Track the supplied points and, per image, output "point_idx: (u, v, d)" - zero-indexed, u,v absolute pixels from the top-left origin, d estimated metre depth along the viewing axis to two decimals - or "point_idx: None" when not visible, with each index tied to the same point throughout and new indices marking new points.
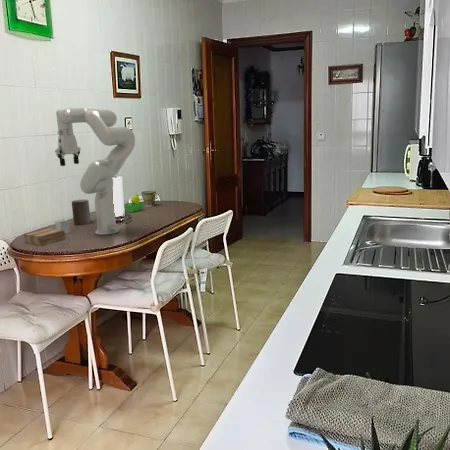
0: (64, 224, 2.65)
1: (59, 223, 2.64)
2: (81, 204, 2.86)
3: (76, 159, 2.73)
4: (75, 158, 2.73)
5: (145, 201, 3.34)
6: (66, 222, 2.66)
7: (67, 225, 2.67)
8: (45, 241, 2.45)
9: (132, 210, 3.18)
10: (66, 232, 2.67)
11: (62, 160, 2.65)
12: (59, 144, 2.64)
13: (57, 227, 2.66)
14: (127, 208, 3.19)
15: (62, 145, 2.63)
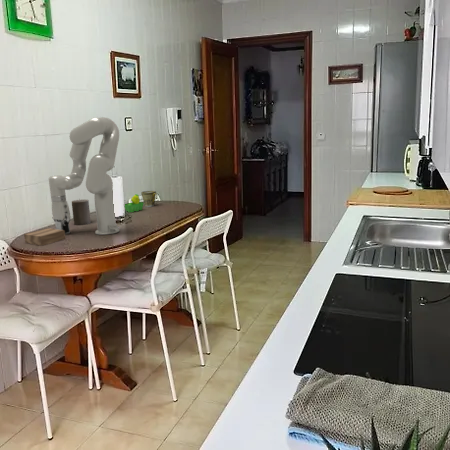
0: None
1: (59, 223, 2.64)
2: (81, 204, 2.86)
3: None
4: None
5: (145, 201, 3.34)
6: None
7: None
8: (45, 241, 2.45)
9: (132, 210, 3.18)
10: None
11: (67, 227, 2.66)
12: (64, 210, 2.62)
13: (57, 227, 2.66)
14: (127, 208, 3.19)
15: (68, 210, 2.64)
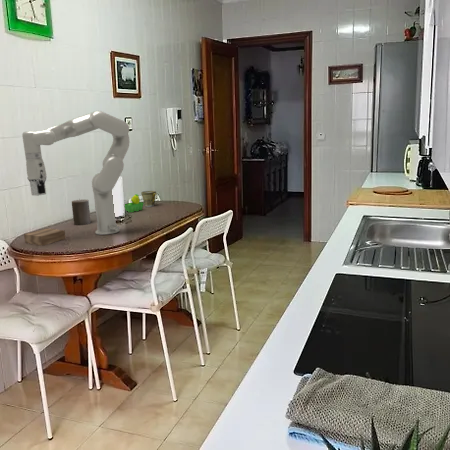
0: None
1: (34, 183, 2.44)
2: (81, 204, 2.86)
3: None
4: None
5: (145, 201, 3.34)
6: None
7: None
8: (46, 241, 2.45)
9: (132, 210, 3.18)
10: (42, 193, 2.46)
11: (43, 187, 2.46)
12: (40, 168, 2.42)
13: (32, 187, 2.46)
14: (127, 208, 3.19)
15: (44, 169, 2.43)
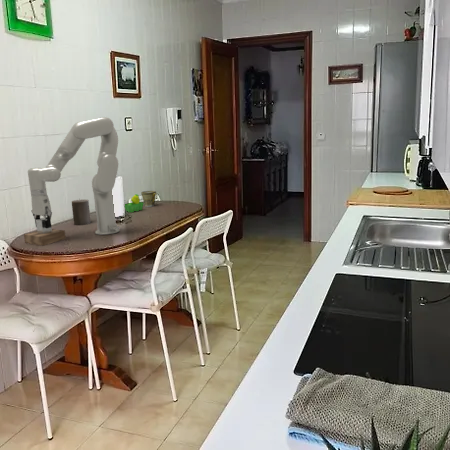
0: None
1: (40, 221, 2.48)
2: (81, 204, 2.86)
3: None
4: None
5: (145, 201, 3.34)
6: None
7: None
8: (46, 241, 2.45)
9: (132, 210, 3.18)
10: (47, 231, 2.50)
11: (49, 221, 2.49)
12: (45, 204, 2.45)
13: (38, 225, 2.50)
14: (127, 208, 3.19)
15: (49, 205, 2.47)
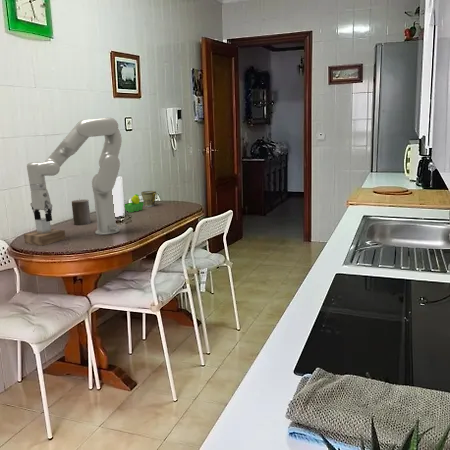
0: (45, 222, 2.49)
1: (39, 221, 2.48)
2: (81, 204, 2.86)
3: (39, 215, 2.54)
4: (37, 214, 2.53)
5: (145, 201, 3.34)
6: None
7: (48, 223, 2.51)
8: (46, 241, 2.45)
9: (132, 210, 3.18)
10: (47, 231, 2.50)
11: (50, 215, 2.48)
12: (44, 199, 2.45)
13: (37, 226, 2.50)
14: (127, 208, 3.19)
15: (48, 199, 2.47)
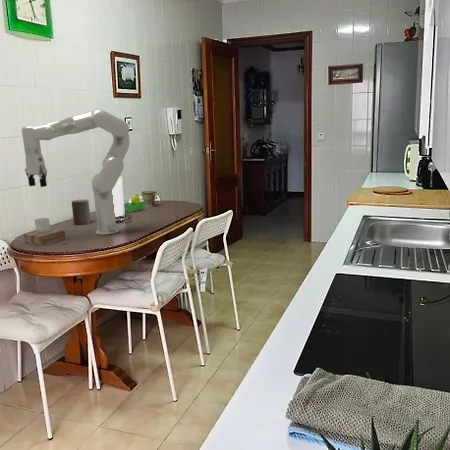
0: (44, 222, 2.49)
1: (39, 221, 2.48)
2: (81, 204, 2.86)
3: (33, 181, 2.50)
4: (32, 180, 2.49)
5: (145, 201, 3.34)
6: (46, 220, 2.50)
7: (47, 223, 2.51)
8: (46, 241, 2.45)
9: (132, 210, 3.18)
10: (46, 231, 2.51)
11: None
12: (39, 163, 2.41)
13: (37, 225, 2.50)
14: (127, 208, 3.19)
15: (43, 164, 2.43)
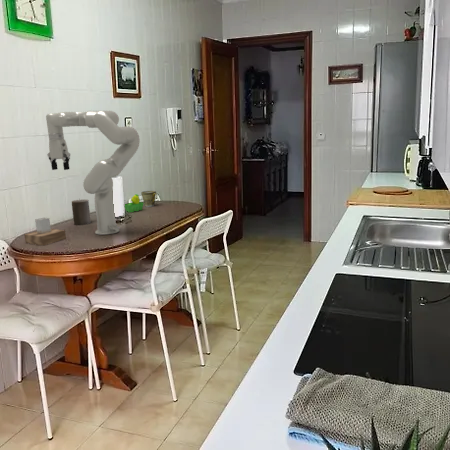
0: (44, 222, 2.49)
1: (39, 221, 2.48)
2: (81, 204, 2.86)
3: (55, 165, 2.67)
4: (54, 164, 2.67)
5: (145, 201, 3.34)
6: (46, 220, 2.50)
7: (48, 223, 2.51)
8: (46, 241, 2.45)
9: (132, 210, 3.18)
10: (46, 231, 2.51)
11: (68, 163, 2.62)
12: (63, 148, 2.59)
13: (37, 225, 2.50)
14: (127, 208, 3.19)
15: (66, 148, 2.61)
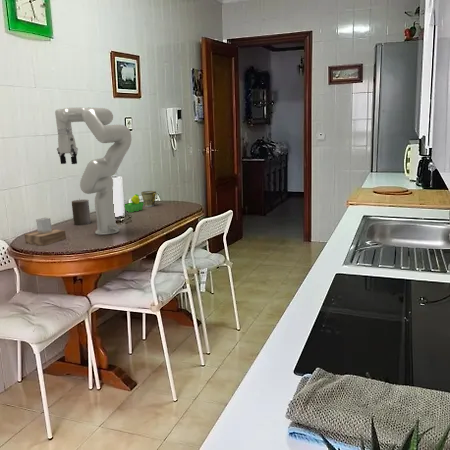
0: (45, 222, 2.49)
1: (40, 221, 2.48)
2: (81, 204, 2.86)
3: (64, 159, 2.75)
4: (63, 158, 2.74)
5: (145, 201, 3.34)
6: (47, 220, 2.50)
7: (49, 223, 2.51)
8: (47, 241, 2.45)
9: (132, 210, 3.18)
10: (47, 231, 2.50)
11: (75, 158, 2.69)
12: (70, 142, 2.66)
13: (38, 225, 2.50)
14: (127, 208, 3.19)
15: (74, 143, 2.68)
